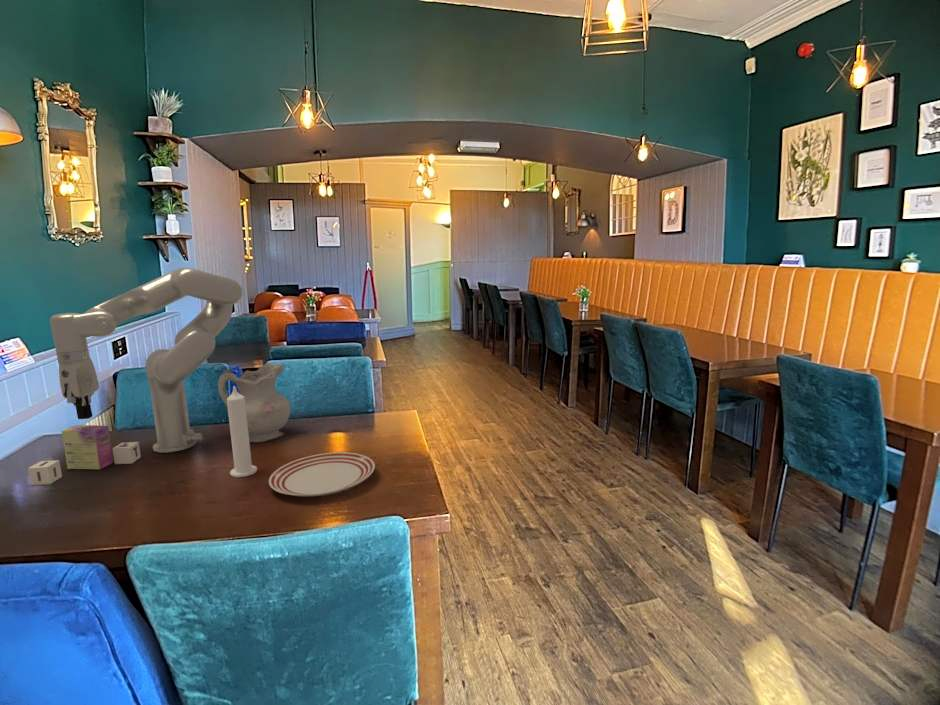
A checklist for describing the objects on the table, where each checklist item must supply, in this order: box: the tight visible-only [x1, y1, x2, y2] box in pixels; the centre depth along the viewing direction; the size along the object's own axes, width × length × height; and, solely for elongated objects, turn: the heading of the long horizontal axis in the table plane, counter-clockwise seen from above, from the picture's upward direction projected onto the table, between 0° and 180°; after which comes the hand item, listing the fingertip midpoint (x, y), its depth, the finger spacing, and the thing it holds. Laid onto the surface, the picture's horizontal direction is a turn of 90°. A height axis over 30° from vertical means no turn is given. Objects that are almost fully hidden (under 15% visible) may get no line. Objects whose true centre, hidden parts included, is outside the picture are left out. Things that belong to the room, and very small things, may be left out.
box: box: [61, 424, 114, 471], centre depth 163 cm, size 10×6×12 cm, turn 84°
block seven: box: [111, 441, 142, 465], centre depth 167 cm, size 5×5×5 cm
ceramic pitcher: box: [217, 362, 291, 443], centre depth 183 cm, size 22×20×25 cm
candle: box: [226, 385, 258, 478], centre depth 154 cm, size 7×7×25 cm
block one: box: [27, 459, 63, 486], centre depth 154 cm, size 5×5×5 cm
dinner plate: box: [268, 451, 376, 497], centre depth 148 cm, size 27×27×3 cm
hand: (85, 417), depth 162 cm, fingers closed
